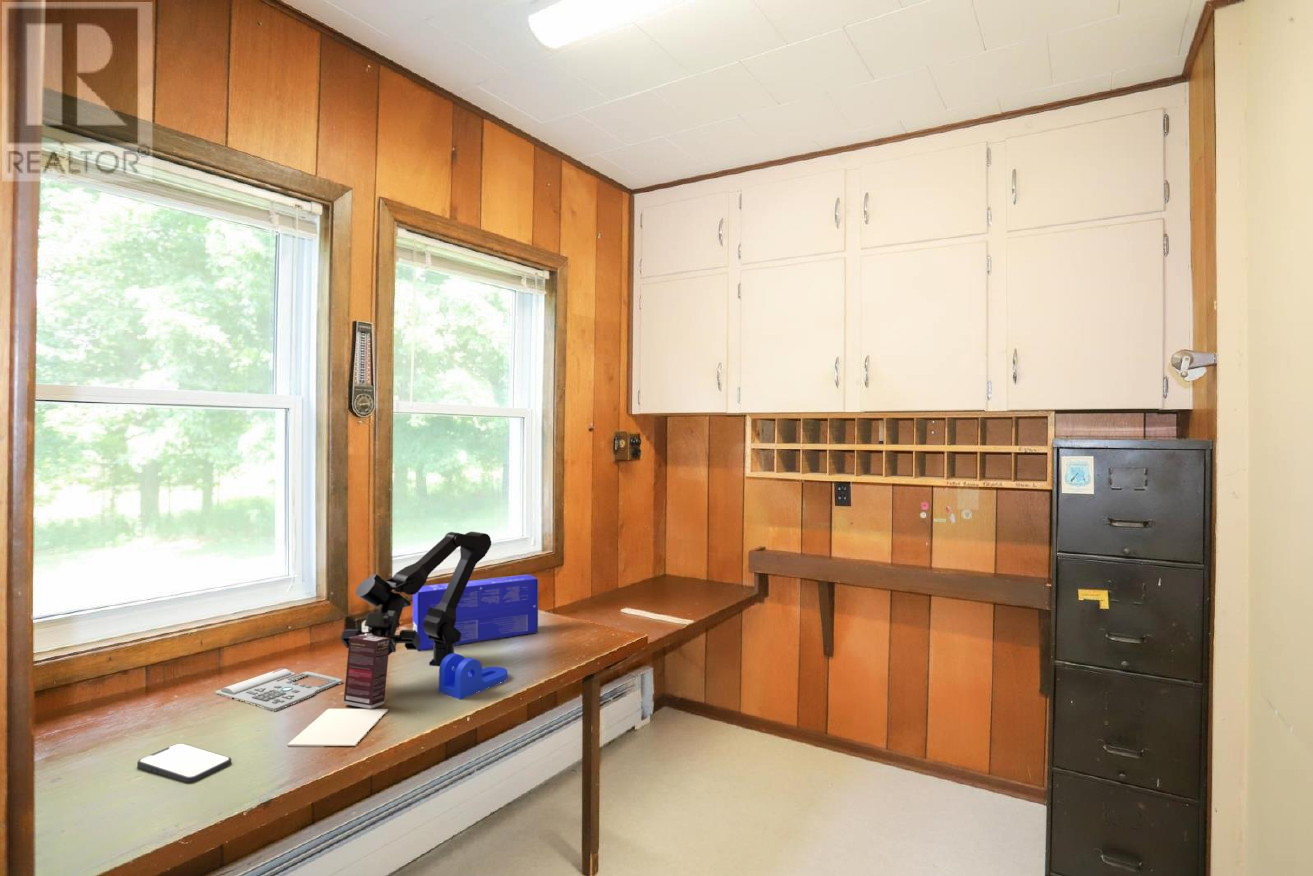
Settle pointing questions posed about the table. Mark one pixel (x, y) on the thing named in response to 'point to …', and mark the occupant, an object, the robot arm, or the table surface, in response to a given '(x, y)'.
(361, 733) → the mat
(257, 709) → the table surface
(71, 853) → the table surface
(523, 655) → the table surface
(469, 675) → the bracket
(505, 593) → the toner cartridge box
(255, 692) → the office telephone
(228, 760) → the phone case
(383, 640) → the supplement box
